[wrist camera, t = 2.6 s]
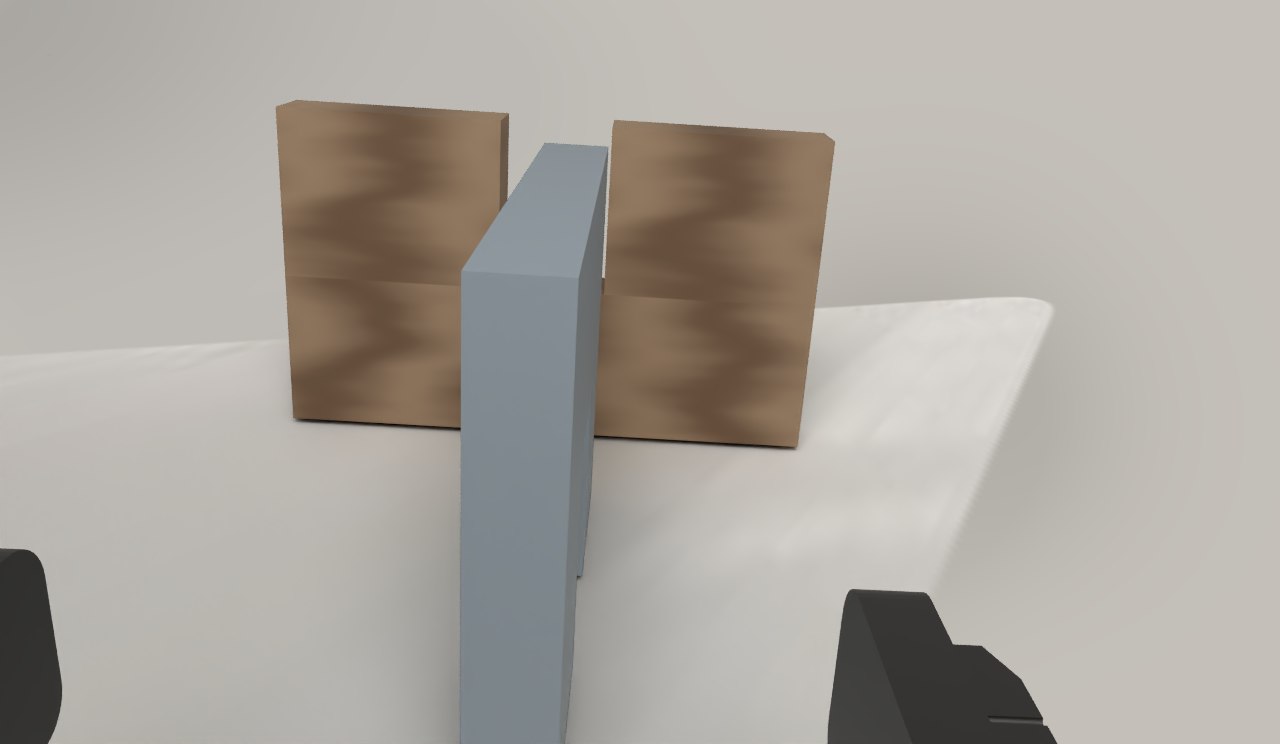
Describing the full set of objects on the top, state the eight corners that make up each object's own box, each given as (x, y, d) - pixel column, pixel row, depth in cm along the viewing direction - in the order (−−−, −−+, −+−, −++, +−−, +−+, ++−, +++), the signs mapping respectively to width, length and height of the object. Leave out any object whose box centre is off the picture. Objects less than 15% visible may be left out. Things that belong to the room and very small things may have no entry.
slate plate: (460, 826, 22) (461, 270, 18) (534, 486, 37) (544, 142, 33) (555, 831, 22) (578, 277, 18) (591, 489, 37) (608, 146, 33)
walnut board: (293, 417, 41) (275, 106, 37) (311, 395, 43) (296, 100, 39) (797, 446, 42) (834, 142, 37) (789, 423, 44) (824, 133, 40)
